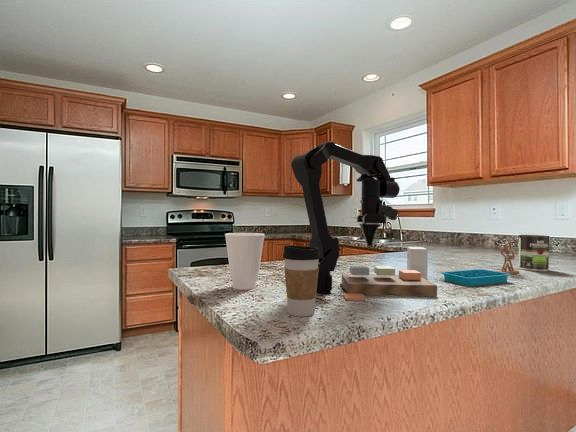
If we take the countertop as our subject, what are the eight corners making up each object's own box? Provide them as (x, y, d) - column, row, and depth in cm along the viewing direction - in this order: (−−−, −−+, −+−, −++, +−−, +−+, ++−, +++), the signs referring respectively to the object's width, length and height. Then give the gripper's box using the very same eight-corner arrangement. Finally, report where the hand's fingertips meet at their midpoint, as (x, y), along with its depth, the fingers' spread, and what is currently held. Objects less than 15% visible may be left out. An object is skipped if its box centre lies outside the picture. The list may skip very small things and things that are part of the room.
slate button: (352, 274, 99) (352, 268, 99) (349, 272, 104) (349, 265, 104) (369, 275, 98) (369, 268, 98) (365, 272, 103) (366, 265, 103)
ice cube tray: (439, 280, 115) (439, 272, 115) (481, 277, 122) (481, 268, 122) (468, 288, 104) (468, 278, 104) (512, 283, 111) (512, 274, 111)
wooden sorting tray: (348, 294, 92) (348, 283, 92) (341, 283, 107) (341, 274, 107) (436, 296, 91) (437, 285, 91) (417, 284, 106) (417, 275, 106)
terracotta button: (403, 279, 98) (403, 272, 98) (398, 276, 103) (398, 269, 103) (421, 279, 98) (421, 273, 98) (415, 276, 103) (415, 270, 103)
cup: (259, 282, 108) (259, 232, 108) (268, 290, 97) (269, 234, 97) (221, 284, 105) (222, 232, 104) (227, 292, 93) (227, 235, 93)
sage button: (377, 275, 98) (377, 268, 98) (374, 272, 103) (374, 265, 103) (395, 275, 98) (395, 268, 98) (390, 272, 103) (390, 266, 103)
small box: (427, 280, 114) (427, 249, 114) (410, 279, 115) (410, 248, 115) (423, 275, 122) (423, 246, 122) (406, 275, 123) (407, 246, 123)
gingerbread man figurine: (509, 271, 132) (509, 241, 132) (519, 273, 129) (520, 242, 128) (495, 273, 128) (495, 242, 128) (505, 275, 124) (506, 243, 124)
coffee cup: (281, 307, 79) (281, 244, 79) (316, 307, 80) (317, 244, 80) (283, 319, 71) (284, 247, 71) (323, 318, 71) (323, 247, 71)
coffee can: (554, 272, 133) (555, 236, 133) (526, 271, 134) (526, 235, 134) (539, 267, 143) (540, 234, 143) (513, 267, 145) (513, 234, 144)
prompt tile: (345, 300, 86) (345, 298, 86) (343, 295, 91) (343, 293, 91) (365, 300, 86) (365, 298, 86) (361, 295, 91) (361, 293, 91)
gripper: (404, 195, 97) (403, 249, 97) (389, 198, 115) (388, 244, 115) (365, 194, 97) (364, 248, 97) (357, 198, 116) (355, 243, 116)
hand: (369, 245), depth 107 cm, fingers closed
